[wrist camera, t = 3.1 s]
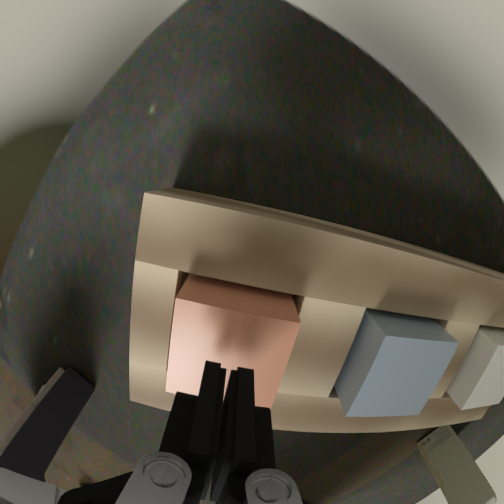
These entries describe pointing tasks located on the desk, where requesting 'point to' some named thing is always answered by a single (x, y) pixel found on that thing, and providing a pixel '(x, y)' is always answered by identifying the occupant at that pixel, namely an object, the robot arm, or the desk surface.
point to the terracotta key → (230, 335)
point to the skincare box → (455, 468)
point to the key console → (302, 299)
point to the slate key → (393, 365)
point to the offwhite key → (480, 371)
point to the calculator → (44, 424)
